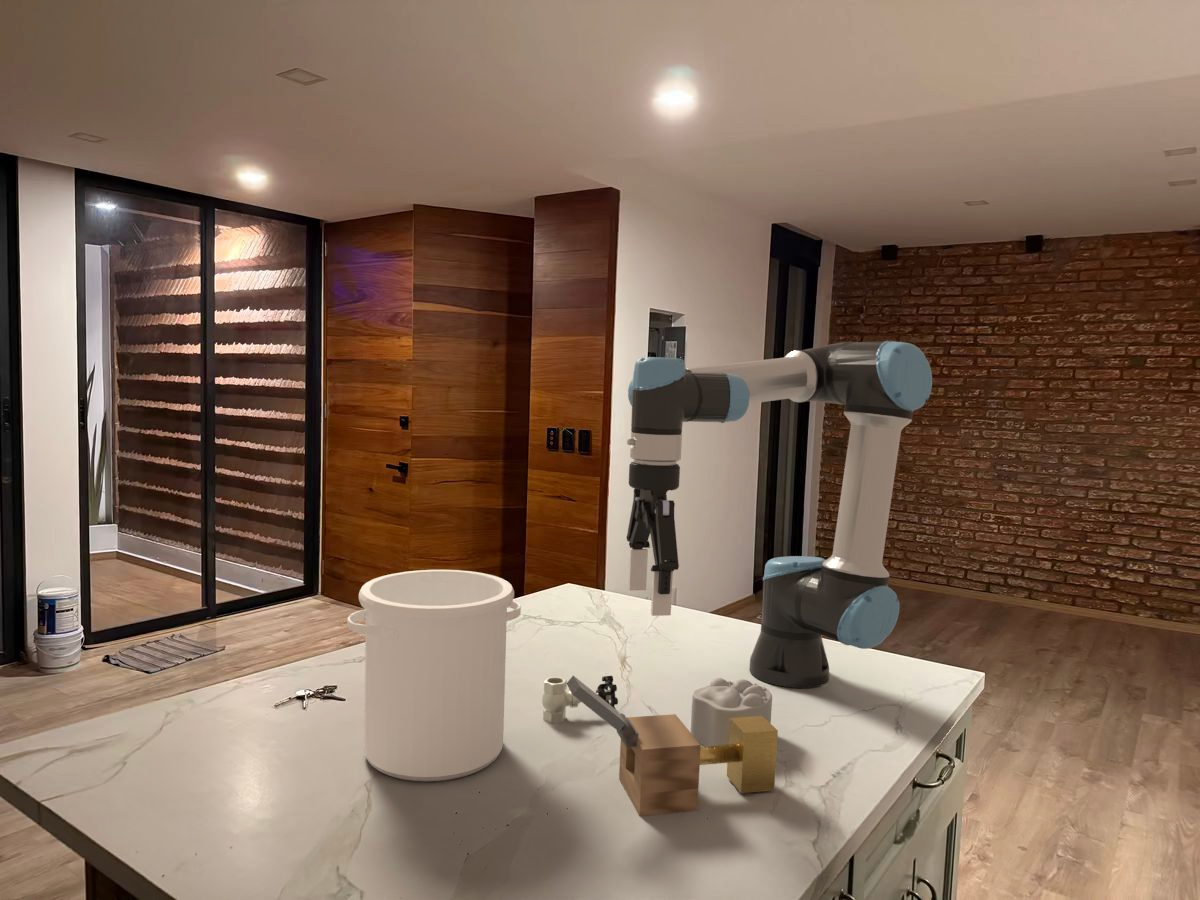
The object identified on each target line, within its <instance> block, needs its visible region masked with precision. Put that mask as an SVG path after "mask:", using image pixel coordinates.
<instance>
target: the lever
mask: <svg viewBox="0 0 1200 900" xmlns="http://www.w3.org/2000/svg"><path fill="white" fill-rule="evenodd" d="M566 684H567V687H568V689H569V690H570V691H571V693H572V694H573V696H575V697H576V698H577V699H578V700H580V701H581V703H582V704H584V705H585V706H586V707H588V709H590V710H591V711H592V712H594V713H595V714H596V715H597V716H599V717H600V718H601V719H602V720H604V721H605V722H606V723H608V724H609V725H610V726H611V727H613V728H614V729H615V730H616V732H617V731H620V730H621V729H622V728H623V726H624V725H625V724H626V723H625V721H624V720H623V718H622V717H621V715H620V712H619V711H618V710H617V709H614V708H613V707H612V706H611V705H610V704H608V703H607V702H606V701H605V700H603V699H602V698H601V697H600V696H598V695H597V694H596V691H593V690H592V689H591V688H590V687H589V686H587V685H586V684H585V683H584V682H582V681H581V680H579V679H578V678H577V677H576V676H575V675H572V676H571V677H570V679H568V680H567V683H566Z"/></svg>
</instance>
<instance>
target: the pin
mask: <svg viewBox="0 0 1200 900" xmlns="http://www.w3.org/2000/svg"><path fill="white" fill-rule="evenodd" d="M778 735H779V731H778V729H777V727H774V725H773V724H772V723H771V724H770V723H769V722H768V721H767V720H766V719H765V718H764V717H763V716H752V717H738V718H730V724H729V742H728V744H727V745H714V746H702V745H701V748H700V766H705V765H718V764H719V765H720V764H727V765H726V777H727V778H728V780H729V781H730V782H731V783H732V784H733V785H734V787H735V788H736V789H737V790H738V792H739V793H740V794H747V793H757V792H769V791H775V782H776V770H777V769H776V766H777V765H776V763H777V749H778Z"/></svg>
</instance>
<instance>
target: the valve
mask: <svg viewBox="0 0 1200 900" xmlns="http://www.w3.org/2000/svg"><path fill="white" fill-rule="evenodd" d="M601 681H602V682H604V683H600V684H598V686H597V689H596V690H595V693H596V694H597V695H598V696H600V697H601V698H602V699H603V700H605V701H606V702H607V703H608V704H610V705H611V706H612V707H613V708H614V709H616V707H615V706H616V705H618V704H619V699H618V697H616V692H617V690H618V687H617V685H616V684H615V683H613V682H614V676H613V675H605V676H603V675H602V677H601ZM567 682H568V680H567V679H565V678H564V677H560V676H549V677H547V678H546V679H545V680H544V683H543V694H542V697H541V698H542V700H541V703H542V707H543V713H542V715H543V716H542V719H543V721H545V722H547V723H550V724H559V723H563V722H564V720H565V719H566V714H567V713H566V708H567V707H570V708H571V709H574V708H577V707H579V704H581V703H582V702H581V701H580V700H578V699H577V698H576V697H575V696H573V694H572V693H571V691H570V689H569V690H568V691H566V690H567V687H568V685H567V684H566V683H567ZM616 710H617V709H616Z"/></svg>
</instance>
